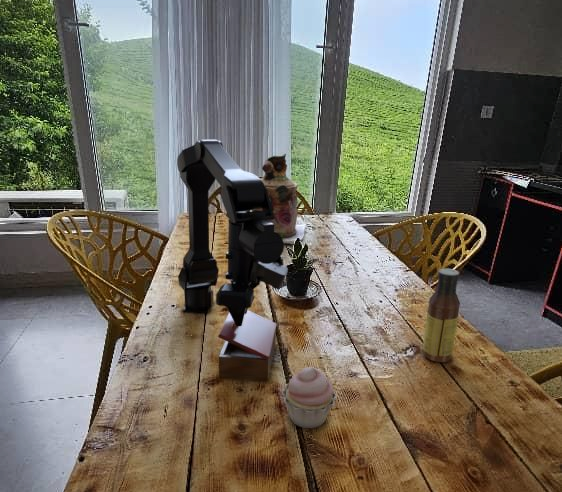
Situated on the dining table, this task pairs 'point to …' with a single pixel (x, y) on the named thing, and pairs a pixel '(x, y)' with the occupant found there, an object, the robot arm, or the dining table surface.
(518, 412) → the dining table surface
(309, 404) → the cupcake
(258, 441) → the dining table surface
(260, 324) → the cover
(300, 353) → the dining table surface
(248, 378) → the hinged lid chest
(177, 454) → the dining table surface
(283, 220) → the cookie jar
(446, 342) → the sauce bottle
